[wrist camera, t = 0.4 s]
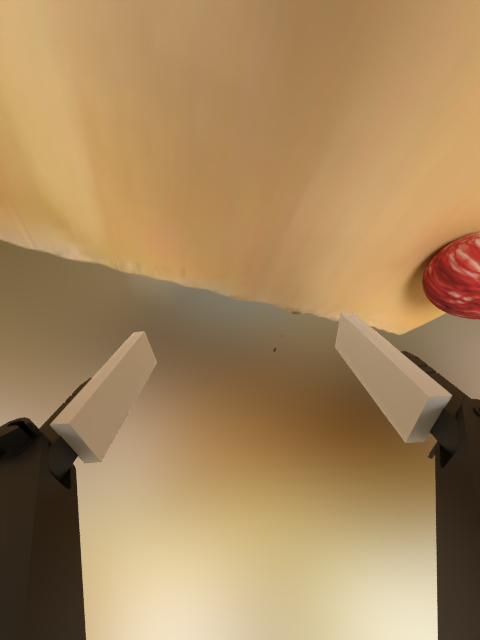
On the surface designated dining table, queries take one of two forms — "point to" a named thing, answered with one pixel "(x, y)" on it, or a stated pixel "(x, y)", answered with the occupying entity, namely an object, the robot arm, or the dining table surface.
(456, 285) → the decorative orb
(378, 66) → the dining table surface
